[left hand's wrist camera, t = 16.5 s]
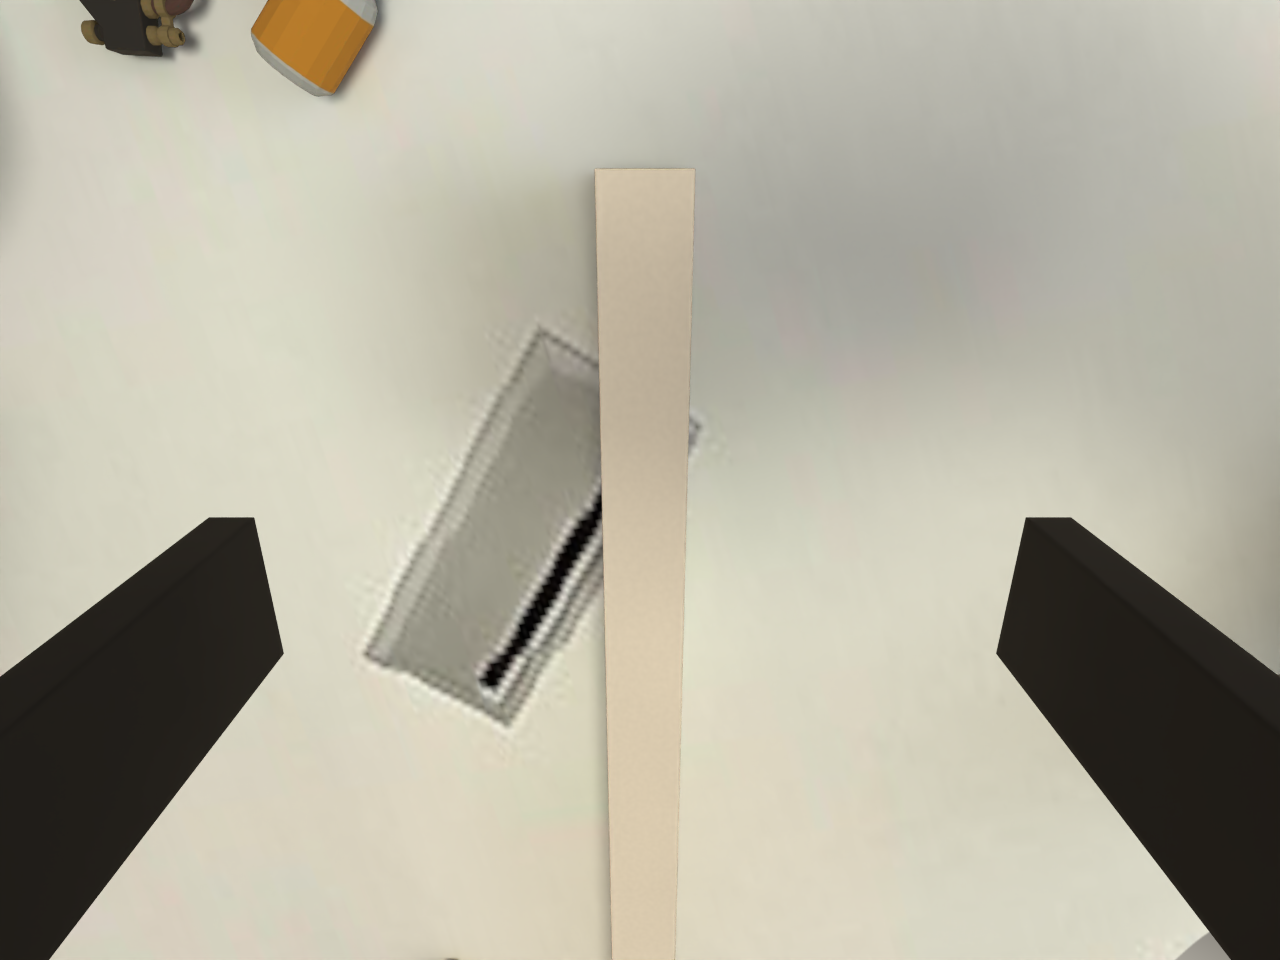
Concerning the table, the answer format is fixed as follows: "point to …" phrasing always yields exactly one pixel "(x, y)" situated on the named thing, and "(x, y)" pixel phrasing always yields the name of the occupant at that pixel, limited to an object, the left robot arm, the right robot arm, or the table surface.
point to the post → (644, 533)
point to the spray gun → (283, 34)
